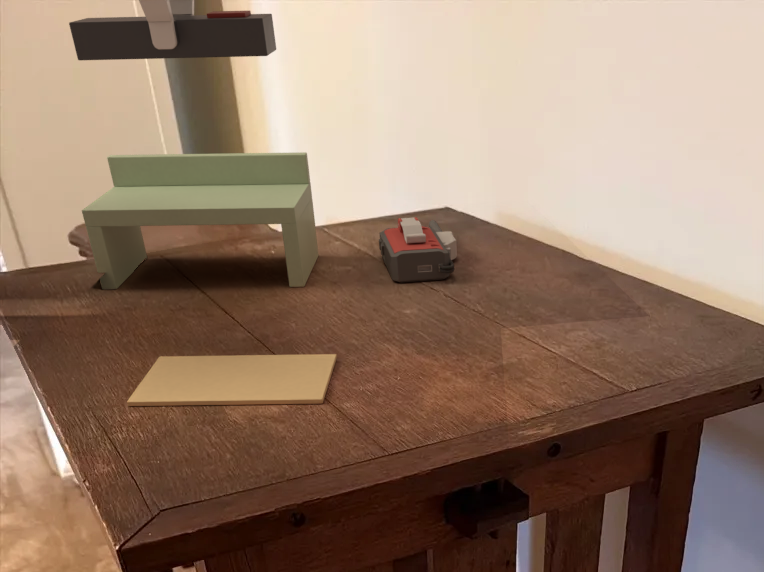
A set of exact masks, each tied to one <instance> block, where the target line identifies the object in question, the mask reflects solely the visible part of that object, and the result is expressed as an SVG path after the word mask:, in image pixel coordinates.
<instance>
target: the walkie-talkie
mask: <svg viewBox="0 0 764 572" xmlns="http://www.w3.org/2000/svg"><path fill="white" fill-rule="evenodd" d="M457 245H458V241H457V239H456V237H454V233H453V232H452V231H450V230H447V231H443V229H441V227H440V226H439V223H437V220H434V219H431V220H429V222H428V226H426V225H422V223H421V221H419V218H418V217H414V216H413V217H401V218H400V217H399V218H397V227H388V228H386V229H384V230H382V231H380V232H379V239H378V248H379V251H380V255H381V258H382V260H383V262H384V264H385V266H386V269H387V271H388V273H389V276H390V278H391V280H392V281H394V282H397V283H402V284H403V283H415V282H427V281H429V282H430V281H442V280H445V279H447V278H448V277H450V275H451V274H453V273H454V272H455V264H454V262H453V260H455V259H456V258H457V256H458V246H457Z"/></svg>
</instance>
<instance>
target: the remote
mask: <svg viewBox="0 0 764 572" xmlns="http://www.w3.org/2000/svg"><path fill="white" fill-rule="evenodd" d="M173 19H174V20H176V22H177V27H178V34H179V38H180V43H179V46H177V47H175V48H174V49H157V48H155V47H154V45H153V42H152V38H151V33H150V28H149V23H148V21H147V19H146V16H117V17H116V16H115V17H113V16H112V17H111V16H110V17H86V18H81V19H78V20H74V21H70V22H68V26H69V29H70V33H71V37H72V41H73V45H74V50H75V53H76V57H77V61H111V60H112V61H113V60H114V61H115V60H116V61H117V60H155V59H157V60H158V59H159V60H160V59H161V60H162V59H201V58H202V59H203V58H240V57H241V58H243V57H247V58H248V57H268V56H269V55H271V54H273V53H274V52H276V51H277V44H276V43H277V42H276V36H275V30H274V29H275V28H274V19H273V14H272V13H252V11H251V10H213V11H210V12H208V13H206V14H200V15H199V14H198V15H197V14H196V15H195V14H194V15H193V16H173Z"/></svg>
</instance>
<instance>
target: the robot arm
mask: <svg viewBox="0 0 764 572" xmlns="http://www.w3.org/2000/svg"><path fill="white" fill-rule="evenodd" d="M138 2H139V5H140V7H141V9H142V12H143V14H144V17H146V19H147V21H148V23H149V28H150V33H151V38H152V42H153V45H154V47H155V48H157V49H174V48H175V47H177V46H179V43H180V38H179V34H178V27H177V22H176V20H174V19H173V16H193V15H195V0H138Z"/></svg>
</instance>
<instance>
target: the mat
mask: <svg viewBox="0 0 764 572" xmlns="http://www.w3.org/2000/svg"><path fill="white" fill-rule="evenodd" d="M337 355H338V354H337V353H325V354H324V353H323V354H322V353H319V354H318V353H317V354H313V353H312V354H311V353H310V354H248V355H247V354H246V355H245V354H243V355H242V354H241V355H235V354H234V355H233V354H232V355H173V356H170V355H167V356H166V355H163V356H158V358H157V359H156V360H155V362H154V363H153V365H152V366H151V368H150V369H149V371H148V372H147V373H146V375H145V376H144V377H143V379H142V380H141V381H140V383H139V384H138V385H137V387H136V388H135V390H134V391H133V393H132V394H131V395H130V397H129V398H128V400H127V401H126V404H127V407H168V406H175V407H176V406H178V407H179V406H227V405H228V406H237V405H238V406H239V405H240V406H241V405H242V406H244V405H246V406H247V405H249V406H250V405H312V404H313V405H314V404H315V405H316V404H317V405H319V404H321V405H323V404H324V401H325V397H326V394H327V391H328V387H329V384H330V382H331V378H332V375H333V372H334V368H335V366H336V362H337V359H338V356H337Z"/></svg>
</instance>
